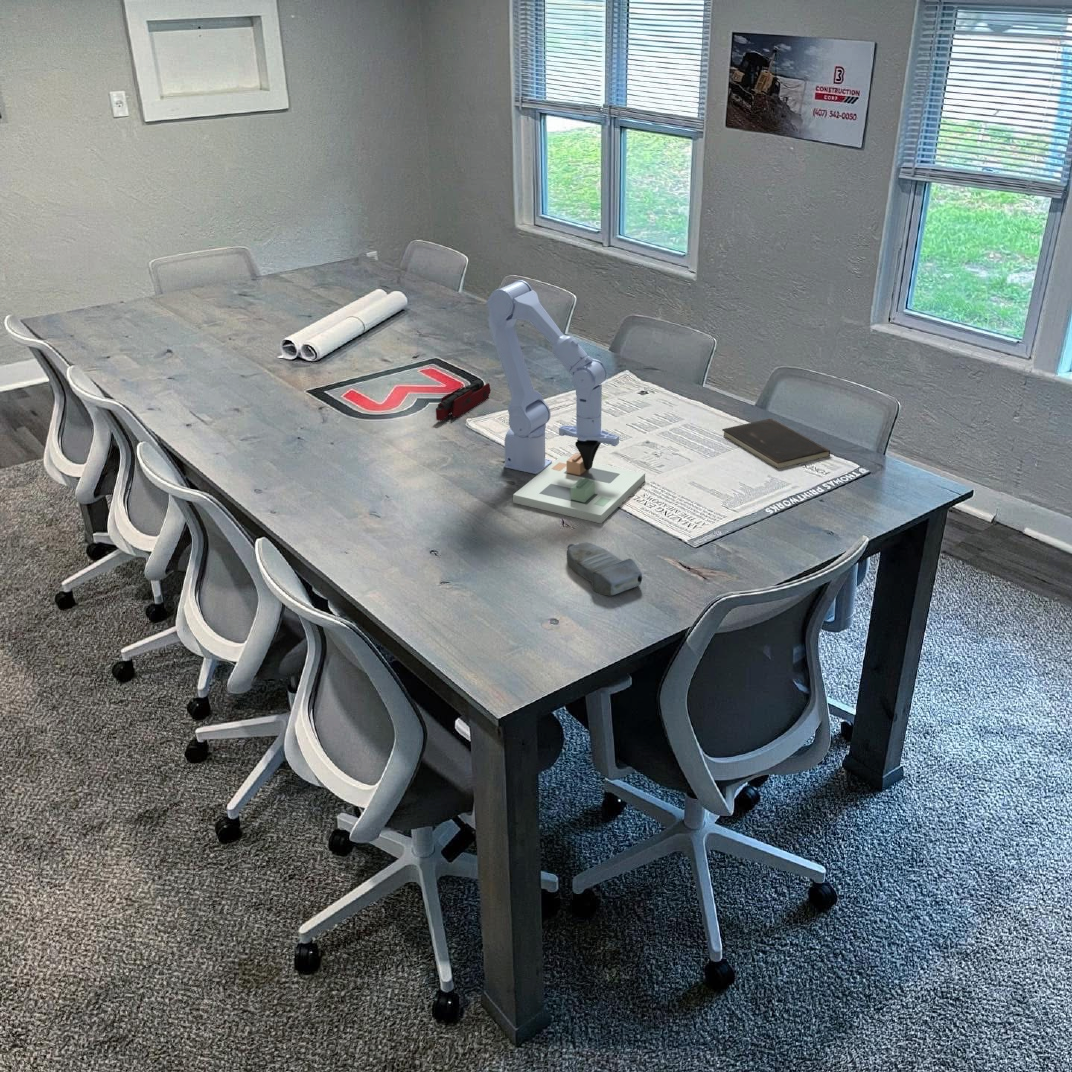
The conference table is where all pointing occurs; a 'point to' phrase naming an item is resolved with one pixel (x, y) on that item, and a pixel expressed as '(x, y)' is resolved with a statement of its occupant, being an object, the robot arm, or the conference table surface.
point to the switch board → (555, 484)
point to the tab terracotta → (575, 464)
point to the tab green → (582, 490)
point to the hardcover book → (775, 443)
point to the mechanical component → (462, 400)
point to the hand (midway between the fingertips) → (588, 468)
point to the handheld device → (603, 568)
